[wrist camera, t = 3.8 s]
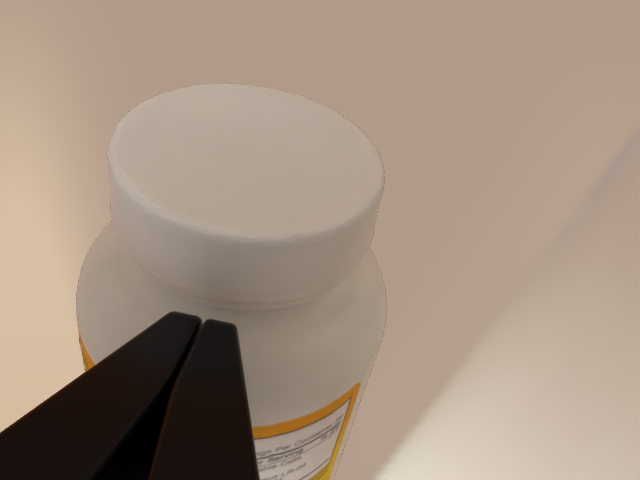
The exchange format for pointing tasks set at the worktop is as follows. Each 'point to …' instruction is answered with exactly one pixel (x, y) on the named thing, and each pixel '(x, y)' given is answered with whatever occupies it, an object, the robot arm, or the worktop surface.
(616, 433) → the worktop surface
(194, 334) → the robot arm
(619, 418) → the worktop surface
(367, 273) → the supplement bottle
